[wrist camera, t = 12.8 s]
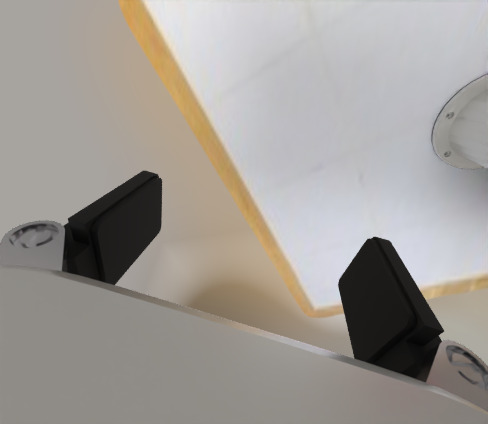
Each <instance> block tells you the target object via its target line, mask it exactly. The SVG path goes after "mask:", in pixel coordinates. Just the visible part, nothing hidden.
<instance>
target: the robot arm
mask: <svg viewBox="0 0 488 424" xmlns="http://www.w3.org/2000/svg"><path fill="white" fill-rule="evenodd" d="M447 114H448V115H447ZM432 143H433V147H434V150H435V152H436V154H437V155H438V156H439V157H440V159H441V160H443V161H444V162H446V163H448V164H450V165H452V166H454V167H458V168H462V169H478V168H484V167H485V168H488V74H487V75H485V76H483V77H481V78H479V79H477V80H475V81H473V82H472V83H470V84H469V85H467V86H466V87H464V88H463V89H462V90H461V91H459V92H458V93H457V94H456V95H455V96H454V97H453V98H452V99H451V100H450V101H449V102H448V103H447V105H446V106H445V107H444V109H443V110H442V112H441V113H440V115H439V117H438V119H437V121H436V123H435V126H434V130H433V135H432ZM161 212H162V179H161V178H159V176H158V174H155V173H152V172H148V171H142V172H140V173H139V174H137V175H136V176H134V177H133V178H131V179H129V180H128V181H126V182H125V183H123V184H122V185H120V186H118V187H117V188H115V189H114V190H112V191H111V192H109V193H107V194H106V195H104V196H103V197H101V198H100V199H98V200H96V201H95V202H93V203H92V204H90V205H89V206H87V207H86V208H84V209H82V210H81V211H79V212H78V213H76V214H74V215H73V216H71V217H70V218H68V221H69V223H67V224H66V225H64V226H63V225H61V224H60V223H57V222H55V221H35V222H29V223H26V224H23V225H20V226H18V227H15V228H13V229H12V230H10V231H9V232H8V233H6V234H5V236H4V237H3V239H2V241H1V243H0V424H488V366H487V365H486V364H485V363H484V362H483V361H482V360H481V359H480V358H479V357H478V356H477V355H476V354H474V353H473V352H472V351H471V350H469V349H468V348H466V347H465V346H463V345H461V344H459V343H457V342H455V341H451V340H444V341H441V339H440V337H439V335H440V334H441V333H443V332H444V330H443V328H442V326H441V325H440V323H439V322H438V320H437V318H436V317H435V315H434V313H433V312H432V310H431V308H430V307H429V305H428V304H427V302H426V300H425V298H424V297H423V295H422V293H421V292H420V290H419V288H418V287H417V285H416V283H415V282H414V280H413V278H412V277H411V275H410V273H409V272H408V270H407V268H406V267H405V265H404V263H403V262H402V260H401V258H400V257H399V255H398V253H397V252H396V250H395V248H394V247H393V245H392V243H391V242H390V241H389V240H385V239H382V238H378V237H373V238H371V239H367V240H366V242H365V243H364V244H363V246H362V247H361V249H360V250H359V252H358V253H357V255H356V256H355V257H354V259H353V260H352V262H351V263H350V265H349V266H348V268H347V269H346V270H345V272H344V273H343V275H342V276H341V278H340V279H339V283H338V287H339V291H340V296H341V300H342V305H343V309H344V314H345V318H346V322H347V327H348V331H349V336H350V340H351V345H352V349H353V354H354V358H355V359H353V358H350V357H347V356H344V355H341V354H338V353H334V352H331V351H328V350H325V349H322V348H319V347H315V346H312V345H309V344H306V343H303V342H299V341H296V340H293V339H290V338H286V337H283V336H280V335H277V334H273V333H270V332H267V331H264V330H260V329H257V328H254V327H251V326H247V325H244V324H241V323H238V322H235V321H231V320H228V319H225V318H221V317H218V316H215V315H212V314H208V313H205V312H202V311H199V310H195V309H192V308H189V307H185V306H182V305H179V304H176V303H172V302H169V301H166V300H162V299H159V298H155V297H152V296H149V295H146V294H142V293H139V292H136V291H132V290H129V289H126V288H122V287H118V286H115V284H116V283H117V282H118V280H119V279H120V278H121V277H122V276H123V275H124V273H125V272H126V271H127V270H128V269H129V267H130V266H131V265H132V264H133V263H134V262H135V260H136V259H137V258H138V257H139V256H140V255H141V253H142V252H143V251H144V250H145V249H146V247H147V246H148V245H149V244H150V242H152V240H153V239H154V238H155V237H156V236H157V234H158V233H159V231H160V229H161Z"/></svg>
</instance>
